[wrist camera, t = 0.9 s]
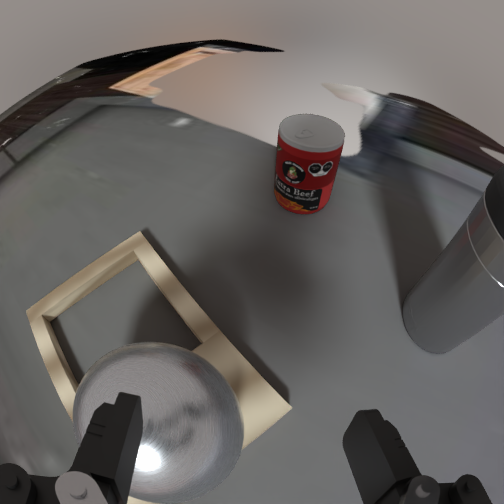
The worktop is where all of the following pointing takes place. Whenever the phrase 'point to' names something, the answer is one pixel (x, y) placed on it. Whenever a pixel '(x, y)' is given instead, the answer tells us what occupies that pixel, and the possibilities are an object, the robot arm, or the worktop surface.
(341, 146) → the canned food
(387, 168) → the worktop surface
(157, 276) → the hole board
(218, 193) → the worktop surface
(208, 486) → the ball
